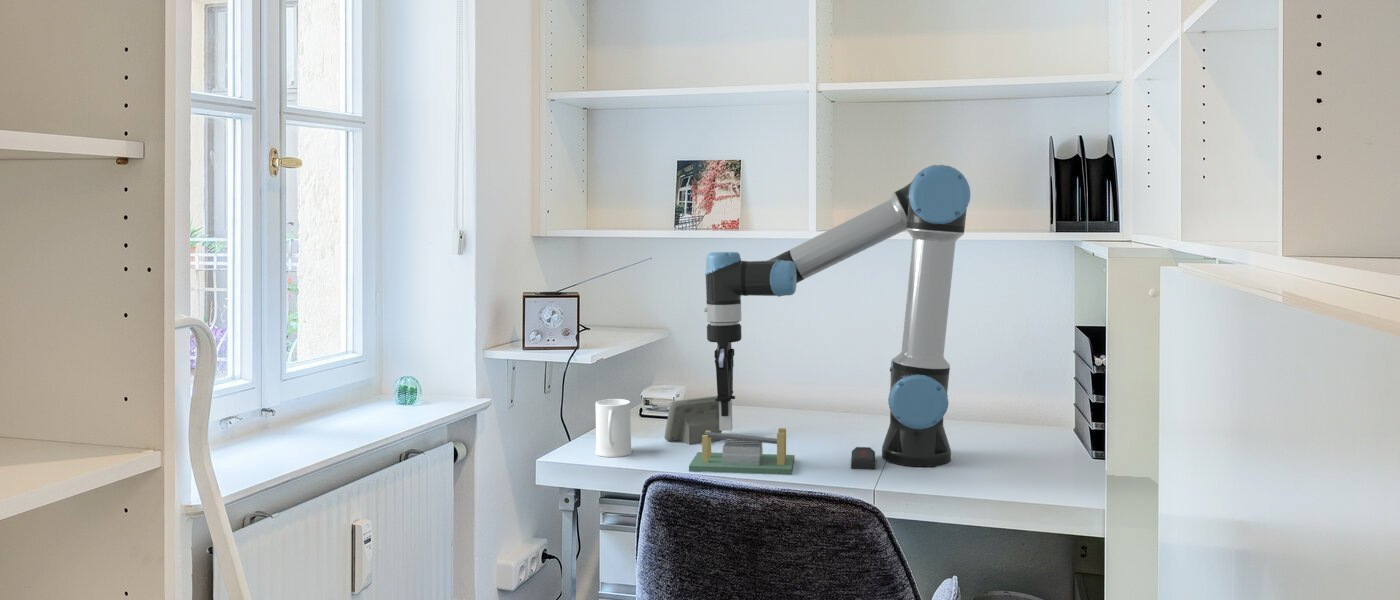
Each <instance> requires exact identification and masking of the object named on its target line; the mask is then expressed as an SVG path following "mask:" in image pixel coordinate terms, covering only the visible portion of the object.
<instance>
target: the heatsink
mask: <svg viewBox="0 0 1400 600" xmlns="http://www.w3.org/2000/svg"><path fill="white" fill-rule="evenodd" d="M725 440H726V441H725V442H724V444H723V446H722V453H723V455H722V464H724V465H754V466H759V465H760V462H761V459H762V457H763V454H764V452H763V451H764V450H763V443H762V442H752V441H742V440H731V439H725Z"/></svg>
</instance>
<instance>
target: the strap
mask: <svg viewBox="0 0 1400 600" xmlns="http://www.w3.org/2000/svg"><path fill="white" fill-rule="evenodd" d="M704 435H708V437H711V438H720V440H721V439H723V440H726V439H731V440H742V441H752V442H762V444H773V445H777V437H776V438H775V437H765V436H764V437H763V436H756V435H755V436H754V435H746V434H745V435H743V434H733V433H726V432H725V433H724V432H723V433H722V432H721V433H715V432H705V433H704Z"/></svg>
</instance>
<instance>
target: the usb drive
mask: <svg viewBox="0 0 1400 600" xmlns="http://www.w3.org/2000/svg"><path fill="white" fill-rule="evenodd" d="M850 456H851V457H850V470H865V471H867V470H869V471H876V468H877V467H876V463H877V462H876V451H875V450H873V448H872V447H868V446H867V447H865V446H863V447H862V446H856V447H855V448H854V449H852V450H851V455H850Z"/></svg>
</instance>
